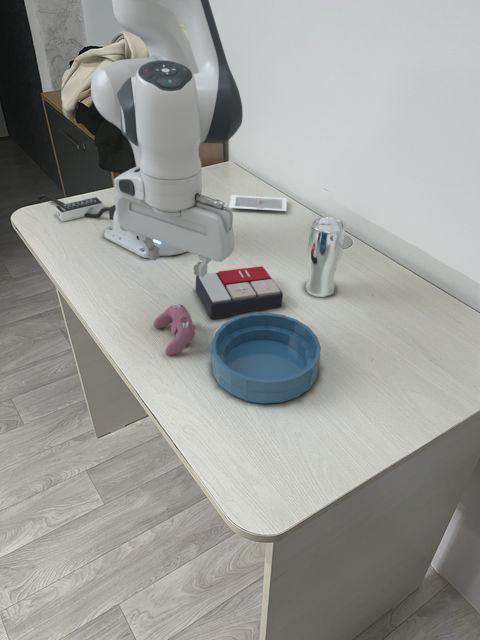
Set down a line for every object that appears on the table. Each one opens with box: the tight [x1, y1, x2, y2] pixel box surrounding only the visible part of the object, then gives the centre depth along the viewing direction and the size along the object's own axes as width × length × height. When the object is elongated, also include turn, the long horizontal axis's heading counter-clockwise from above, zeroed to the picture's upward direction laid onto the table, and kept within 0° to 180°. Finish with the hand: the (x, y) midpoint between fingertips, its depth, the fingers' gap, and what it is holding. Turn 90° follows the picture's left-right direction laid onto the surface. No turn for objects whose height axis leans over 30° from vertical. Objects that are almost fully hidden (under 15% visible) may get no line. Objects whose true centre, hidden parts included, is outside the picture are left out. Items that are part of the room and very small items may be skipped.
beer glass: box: [305, 216, 346, 298], centre depth 110 cm, size 7×7×15 cm
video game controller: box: [153, 303, 196, 356], centre depth 98 cm, size 10×5×7 cm, turn 23°
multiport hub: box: [54, 196, 105, 222], centre depth 136 cm, size 4×11×2 cm, turn 126°
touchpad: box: [228, 194, 288, 212], centre depth 143 cm, size 8×15×2 cm, turn 88°
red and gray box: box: [195, 265, 284, 320], centre depth 109 cm, size 11×4×15 cm
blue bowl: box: [211, 312, 322, 404], centre depth 93 cm, size 18×18×5 cm
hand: (176, 265), depth 89 cm, fingers open, 8 cm apart
